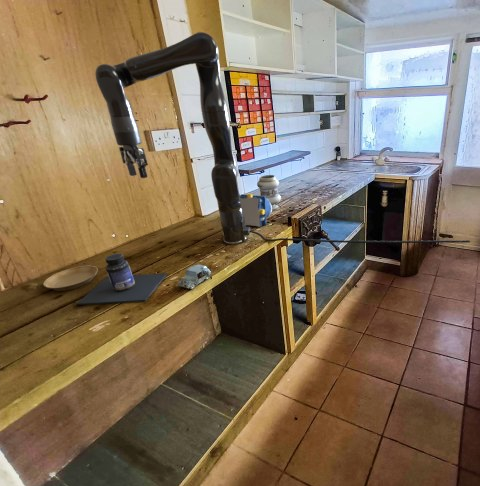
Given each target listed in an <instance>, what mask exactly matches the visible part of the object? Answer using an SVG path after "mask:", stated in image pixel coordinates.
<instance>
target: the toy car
mask: <svg viewBox="0 0 480 486" xmlns="http://www.w3.org/2000/svg"><path fill="white" fill-rule="evenodd" d="M211 274H212V271H211V270H210V269H209V268H208V267H207V266H206V265H203V264H199V263H198V264H195V265H192V266H190V267H188V268H187V269H186V270H185V275H184V276H183V277H182V279H180V280H178V283H177V286H179V287H182V288H186V289H190V290H193V289H195V287H196V286H198V285H200V284H201V283H202V282H204V281H205V280H209V279H210V275H211Z"/></svg>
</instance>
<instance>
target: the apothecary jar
mask: <svg viewBox="0 0 480 486" xmlns="http://www.w3.org/2000/svg"><path fill="white" fill-rule="evenodd" d="M258 178H259V180H258V181H257V183H256V186H257V188H258V189H259V194H260V195H259V196H265V197H266V198H267V199H268V201H269V202H270V204H271V205H272V212H274V211H278V210H280V208H281V207H280V206H279V205H277V204H278V203H280V201H281V200H282V196H281V195H280V194H279V191H278V190H279V189H278V187H279V185H280V181H279V180H278V179H277V178H276V175H274V174H264V175H261V176H259V177H258Z"/></svg>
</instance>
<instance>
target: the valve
mask: <svg viewBox="0 0 480 486" xmlns="http://www.w3.org/2000/svg"><path fill="white" fill-rule="evenodd" d="M240 198H241V206H242V213H243V217H244V218H245V225H246V226H250V227H251V226H253V227H258V228H261V227H263V226H267V218H269V217H270V216H271V215H272V212H273V211H272V205H271V204H270V202H269V201H268V199H267V198H266V197H265V196H261V195H255V194H254V195H253V193H246V194H240Z"/></svg>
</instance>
